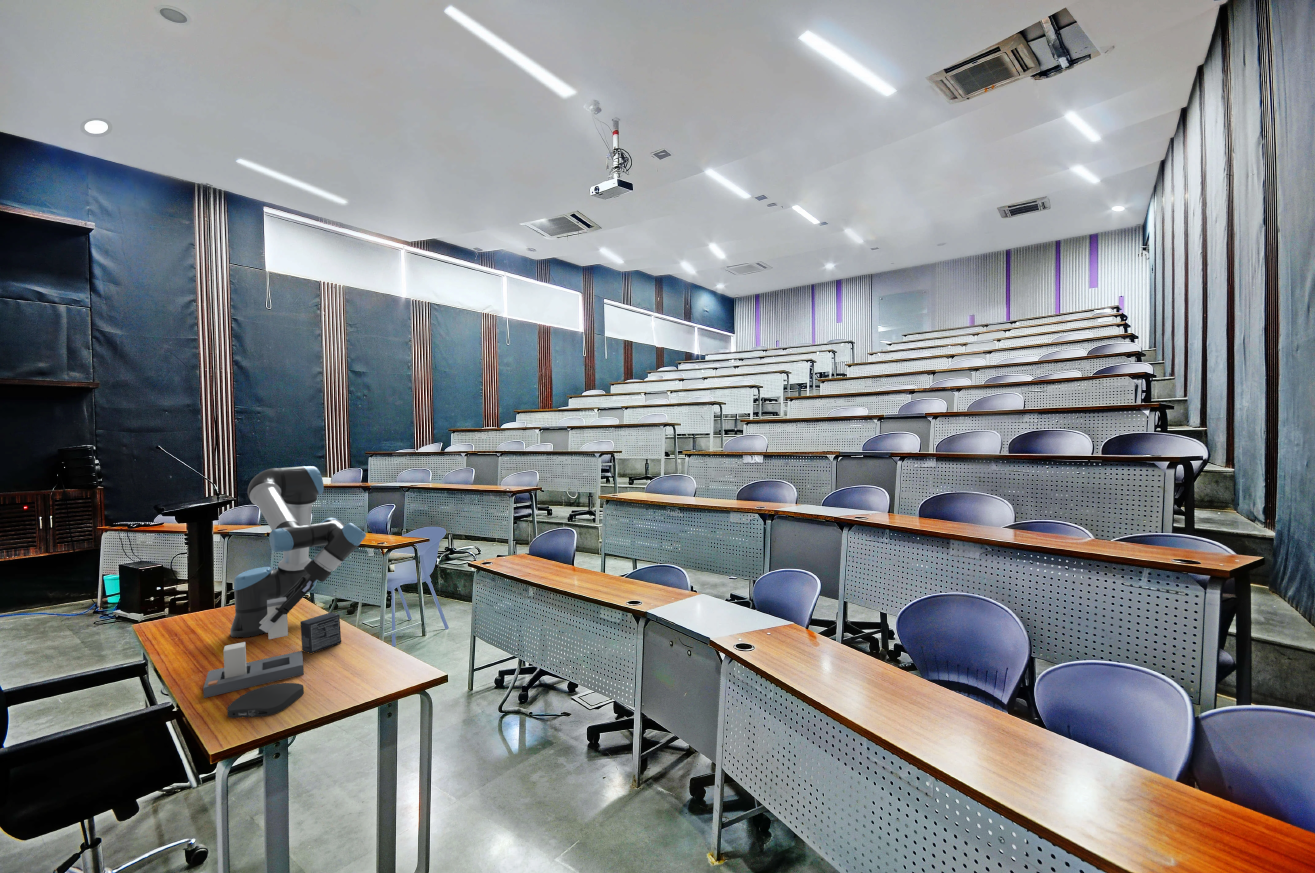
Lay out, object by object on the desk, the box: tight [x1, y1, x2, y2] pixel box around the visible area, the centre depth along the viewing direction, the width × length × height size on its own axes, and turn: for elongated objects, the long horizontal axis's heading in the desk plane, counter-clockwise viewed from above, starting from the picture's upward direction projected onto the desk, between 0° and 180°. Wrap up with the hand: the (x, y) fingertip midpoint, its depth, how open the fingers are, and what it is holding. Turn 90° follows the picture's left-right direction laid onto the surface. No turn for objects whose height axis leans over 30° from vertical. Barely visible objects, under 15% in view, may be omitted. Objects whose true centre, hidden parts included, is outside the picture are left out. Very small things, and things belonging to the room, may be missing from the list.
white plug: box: [267, 597, 289, 640], centre depth 172 cm, size 5×5×11 cm
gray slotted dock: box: [202, 641, 305, 699], centre depth 168 cm, size 14×24×11 cm, turn 125°
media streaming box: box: [226, 682, 305, 719], centre depth 151 cm, size 15×15×3 cm
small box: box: [299, 612, 342, 654], centre depth 192 cm, size 11×6×10 cm, turn 149°
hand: (263, 627), depth 169 cm, fingers closed on white plug, 5 cm apart
